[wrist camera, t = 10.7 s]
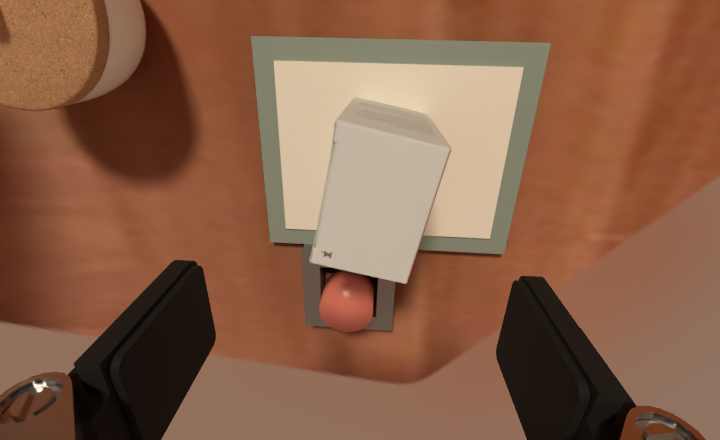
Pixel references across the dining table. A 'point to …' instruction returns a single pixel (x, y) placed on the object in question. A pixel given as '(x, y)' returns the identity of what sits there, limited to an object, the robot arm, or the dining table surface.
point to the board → (411, 91)
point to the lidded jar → (67, 50)
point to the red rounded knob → (347, 301)
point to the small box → (379, 190)
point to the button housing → (315, 287)
